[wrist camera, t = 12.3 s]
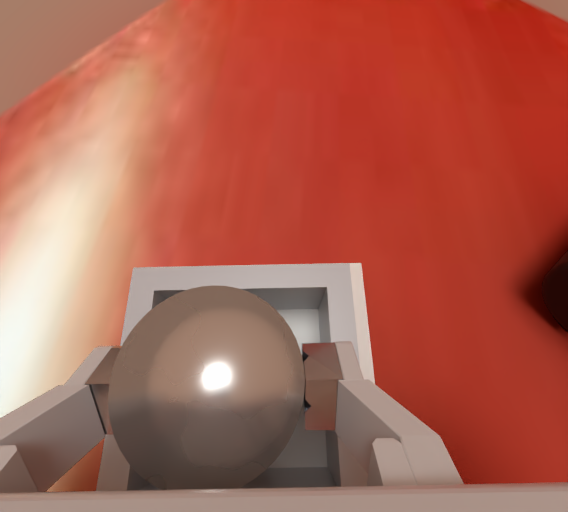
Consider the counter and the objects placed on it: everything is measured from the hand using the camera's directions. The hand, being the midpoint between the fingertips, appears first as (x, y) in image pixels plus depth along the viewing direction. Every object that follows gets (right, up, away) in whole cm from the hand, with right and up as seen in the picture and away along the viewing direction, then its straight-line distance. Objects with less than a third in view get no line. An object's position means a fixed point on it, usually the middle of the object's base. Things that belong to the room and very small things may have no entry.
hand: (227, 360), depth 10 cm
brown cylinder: (0, -3, +5) cm, 5 cm away
